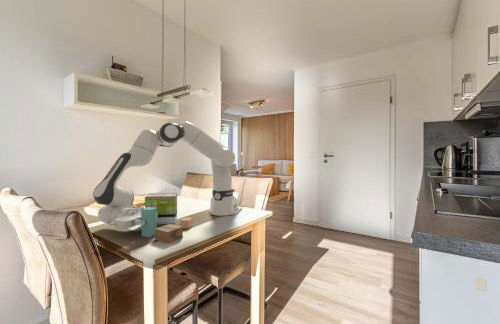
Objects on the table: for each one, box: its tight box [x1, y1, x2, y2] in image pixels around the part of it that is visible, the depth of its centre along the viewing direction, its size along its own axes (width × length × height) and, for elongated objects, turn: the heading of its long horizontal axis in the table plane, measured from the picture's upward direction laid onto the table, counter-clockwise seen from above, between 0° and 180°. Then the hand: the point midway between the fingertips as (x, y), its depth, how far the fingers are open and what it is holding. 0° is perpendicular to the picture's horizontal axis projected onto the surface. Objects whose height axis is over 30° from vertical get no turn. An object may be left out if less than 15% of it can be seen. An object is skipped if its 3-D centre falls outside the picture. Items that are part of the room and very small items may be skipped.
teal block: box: [140, 207, 158, 238], centre depth 109 cm, size 4×4×12 cm
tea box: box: [144, 192, 178, 225], centre depth 129 cm, size 15×10×15 cm, turn 101°
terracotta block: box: [179, 217, 193, 229], centre depth 121 cm, size 4×4×4 cm
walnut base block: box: [154, 224, 184, 244], centre depth 105 cm, size 8×8×5 cm
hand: (150, 220), depth 108 cm, fingers closed on teal block, 4 cm apart
